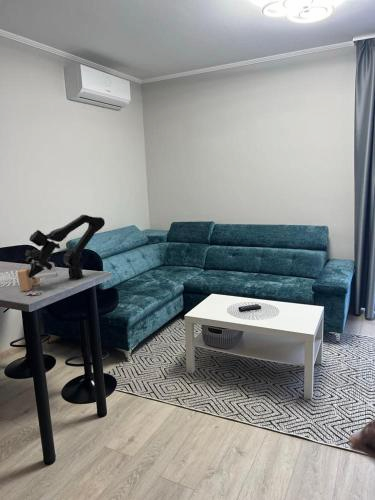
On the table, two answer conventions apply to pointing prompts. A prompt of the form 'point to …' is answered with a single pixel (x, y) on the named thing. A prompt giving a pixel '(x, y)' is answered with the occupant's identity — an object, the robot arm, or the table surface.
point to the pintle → (35, 283)
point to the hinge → (45, 272)
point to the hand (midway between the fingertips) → (29, 277)
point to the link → (26, 280)
